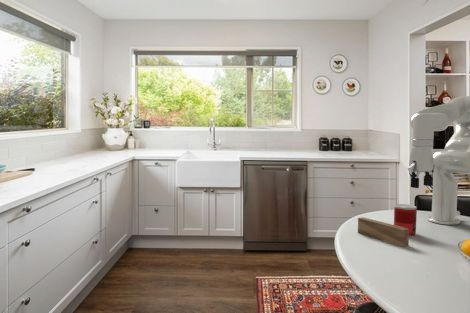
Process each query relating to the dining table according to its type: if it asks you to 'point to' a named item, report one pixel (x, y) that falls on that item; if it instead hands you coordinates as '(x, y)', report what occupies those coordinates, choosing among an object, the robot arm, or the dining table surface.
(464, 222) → the dining table surface
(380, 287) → the dining table surface
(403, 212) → the canned food
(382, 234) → the walnut board
